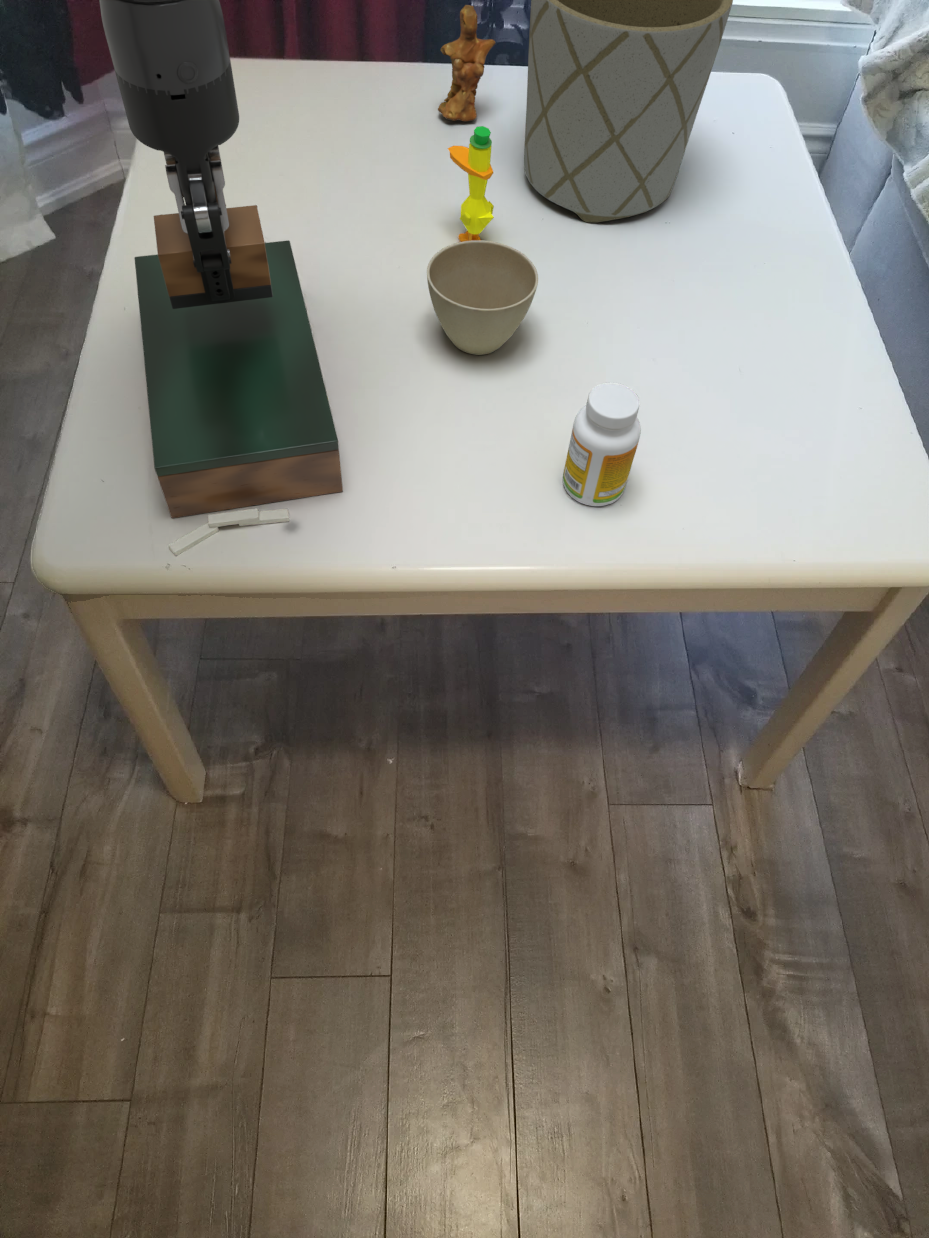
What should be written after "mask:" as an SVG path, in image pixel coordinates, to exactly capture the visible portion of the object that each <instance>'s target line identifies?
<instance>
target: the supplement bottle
mask: <svg viewBox="0 0 929 1238" xmlns="http://www.w3.org/2000/svg"><path fill="white" fill-rule="evenodd" d="M640 405H641V404H640V398H639V396H638V394H637V393H636V392H635V391H634V390H633V389H632V388H630V387H628V386H627V385H625V384H622V383H619V382H603V383H599V384H598V385H596V386H594V387H593V388H592V389H591V390H590V392H589V393H588V397H587V401H586V404H585V405H584V406H582V407H581V408H580V409H579V410H578V412H577V413H576V415H575V418H574V420H573V425H572V428H571V436H570V439H569V443H568V449H567V454H566V459H565V464H564V467H563V474H562V483H563V488H564V489H565V491H566V493H567V494H568V495H569V496H570V498H572V499H573V500H575V501H576V502H578V503H580V504H582V505H586V506H590V507H603V506H607V505H610V504H613V503H615V502H617V501H618V500H619V499H620V498H621V497H622V496H623V494H624V491H625V490H626V489H625V488H626V486H627V482H628V479H629V476H630V472H631V470H632V466H633V462H634V460H635V459H634V458H635V456H636V453H637V449H638V446H639V442H640V439H641V433H642V432H641V431H642V428H641V427H642V425H641V423H640V420H639V418H638V414H639V409H640Z"/></svg>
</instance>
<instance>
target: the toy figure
mask: <svg viewBox="0 0 929 1238" xmlns="http://www.w3.org/2000/svg"><path fill="white" fill-rule="evenodd" d="M491 134H492V132H491V130H490V128H488V127H486V126H484V125H480V126H476V127H475V128H474V129H473V134H472V135H471V136H470V137H469V144H468V146H464V145H452V146H450V147H448V148H447V150H448V152H449V158H450V160H451V161H452V162H453V163H454V164H455V165H456V166H457V167H459V168H460V169H461V170H462V171H464V172H465V173H467V179H468V191H469V192H468V193H469V195H468V196H467V197H466V198H465V200H464V201H463V202H462V203H461V205H460V217H459V220H460V221H461V222H462V224H463V226H464V228H465V229H466V231H465V232H464V233H463V232H462V233H461V232H460V233H459V234H458V235H457V236H458V240H459V242H463V241H471V240H482V239H481V237H480V234H481V233H482V232H483V231H484V230H485V228H486V227H487V226H488V225H489V224H490V223H491V221H493V220H494V218H495V217H494V215H493V212H494V208H495V206H494V204H493V203H492V202H491V200H489V201H488V199H487V198H486V196H485V195H486V190H487V186H488V181H489V180H490V179H491V177H492V176H493V174H494V169H493V167H492V165H491V159H492V144H493V141H492V138H491V137H490V136H491Z"/></svg>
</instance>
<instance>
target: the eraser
mask: <svg viewBox="0 0 929 1238" xmlns="http://www.w3.org/2000/svg"><path fill="white" fill-rule="evenodd" d="M226 209H227V215H228V220H229V227H228V229H226V230H225V231H224V235H225V241H226V246H227V250H228V249H229V251H230V256H228V257H230V258H231V263H232V264H230V273H231V279H232V284H233V289H234V294H235V298H234V299H233V300H232V301H229V302H236V301H245V300H253V299H261V298H270V297H273V293H272V286H271V280H270V274H269V267H268V261H267V254H266V248H265V243H266V242H265V237H264V233H263V228H262V223H261V218H260V214H259V210H258V205H256V204H253V205H245V206H235V207H234V206H233V207H226ZM153 223H154V233H155V242H156V250H157V254H158V257H159V261H160V265H161V268H162V272H163V276H164V280H165V283H166V287H167V291H168V294H169V298H170V302H171V305H172V308H173V309H178V308H186V307H194V306H203V305H211V304H220V303H228V302H220V303H210V302H208V301H207V299H206V294H205V290H204V286H203V281H202V277H201V272H199V273H198V272H197V269H196V268H194V264H193V261H194V258H193V253H192V249H191V245H190V241H189V236H188V234H187V233H185V232H184V231H183V230H182V226H181V222H180V217H179V212H176V213H175V212H174V213H166V214H156V215H155V214H154V215H153Z"/></svg>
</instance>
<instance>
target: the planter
mask: <svg viewBox="0 0 929 1238" xmlns="http://www.w3.org/2000/svg"><path fill="white" fill-rule="evenodd" d="M733 1H734V0H530V15H529V17H530V18H529V38H528V57H527V58H528V59H527V62H528V63H527V83H526V84H527V85H526V105H525V107H526V109H525V130H524V146H523V147H524V148H523V149H524V150H523V170H524V173H525V176H526V178H527V180H528V182H529V184H530V185H531V186H532V188H533V189H534V190H535V191H536V192H538V193H539V194H540V195H541V196H542V197H544V198H545V199H547V200H548V201H550V202H551V203H554V204H555V205H557V206H560V207H562V208H564V209H566V210H569V211H571V212H573V213H575V214H576V215H577V216H578V217H579V218H580V219H581V220H582V222H585V223H589V224H590V223H592V224H593V223H602V222H608V221H609V222H610V221H615V220H619V219H624V218H625V219H626V218H629V217H634V216H637V215H640V214H644V213H646V212H649V211H651V210H653V209H655V208H656V207H658V206H660V205H661V204H663V203H664V202H665V201H666V200H668V198H669V197H670V196H671V193H672V190H673V189H674V186H675V183H676V180H677V178H678V175H679V171H680V168H681V165H682V162H683V159H684V155H685V152H686V149H687V146H688V143H689V140H690V137H691V133H692V131H693V128H694V124H695V122H696V119H697V114H698V112H699V109H700V106H701V103H702V100H703V97H704V94H705V91H706V88H707V85H708V82H709V79H710V77H711V73H712V69H713V68H714V64H715V61H716V58H717V55H718V52H719V49H720V46H721V43H722V38H723V35H724V32H725V30H726V26H727V23H728V19H729V16H730V14H731V9H732V7H733V3H734V2H733Z"/></svg>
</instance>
